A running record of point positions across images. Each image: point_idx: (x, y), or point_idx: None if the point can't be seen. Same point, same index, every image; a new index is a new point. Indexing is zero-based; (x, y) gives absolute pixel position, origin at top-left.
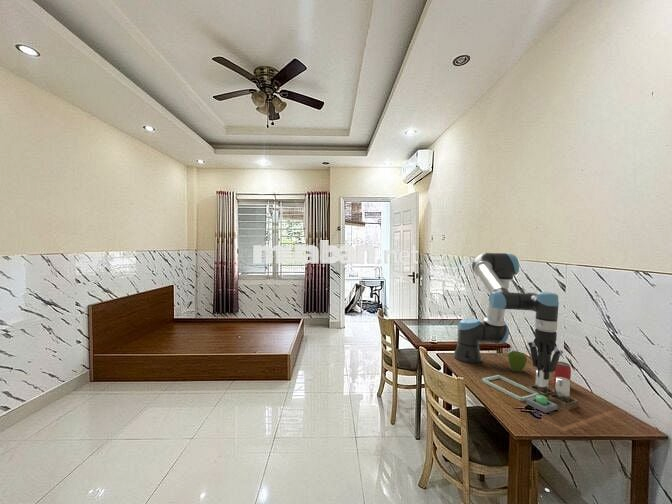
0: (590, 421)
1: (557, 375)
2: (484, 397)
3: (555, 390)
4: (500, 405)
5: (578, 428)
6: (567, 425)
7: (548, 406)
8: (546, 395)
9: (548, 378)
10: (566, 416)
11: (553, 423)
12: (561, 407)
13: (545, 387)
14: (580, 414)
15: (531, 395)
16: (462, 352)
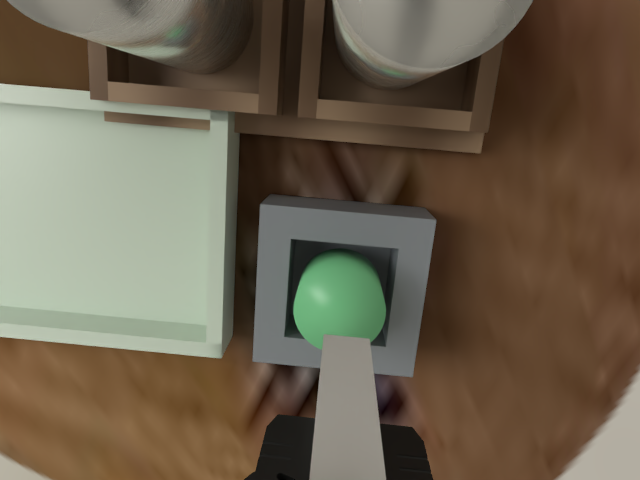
0: (632, 115)
1: None
2: (71, 468)
3: (351, 58)
4: (187, 472)
5: (603, 311)
6: (544, 337)
7: (409, 323)
8: (280, 90)
9: (421, 454)
10: (492, 212)
11: (480, 393)
12: (434, 145)
13: (226, 25)
14: (546, 62)
15: (221, 230)
16: None
